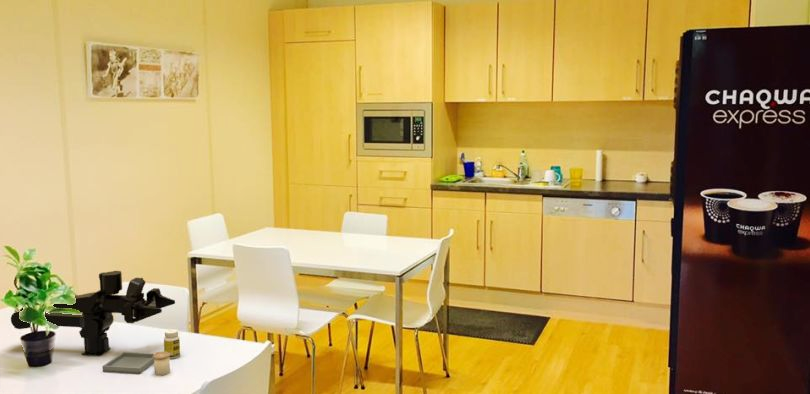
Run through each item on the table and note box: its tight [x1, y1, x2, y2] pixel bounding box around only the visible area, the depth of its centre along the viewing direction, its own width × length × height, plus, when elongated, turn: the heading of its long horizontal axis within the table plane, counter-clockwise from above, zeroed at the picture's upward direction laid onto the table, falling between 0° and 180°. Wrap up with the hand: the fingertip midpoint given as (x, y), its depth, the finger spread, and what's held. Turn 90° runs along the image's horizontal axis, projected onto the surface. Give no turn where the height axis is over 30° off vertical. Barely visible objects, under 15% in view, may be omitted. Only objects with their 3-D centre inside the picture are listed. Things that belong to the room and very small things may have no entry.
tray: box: [102, 351, 154, 375], centre depth 218 cm, size 12×12×2 cm
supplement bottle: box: [163, 329, 181, 360], centre depth 225 cm, size 5×5×8 cm
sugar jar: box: [152, 350, 171, 376], centre depth 212 cm, size 5×5×6 cm
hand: (168, 306), depth 223 cm, fingers open, 9 cm apart
